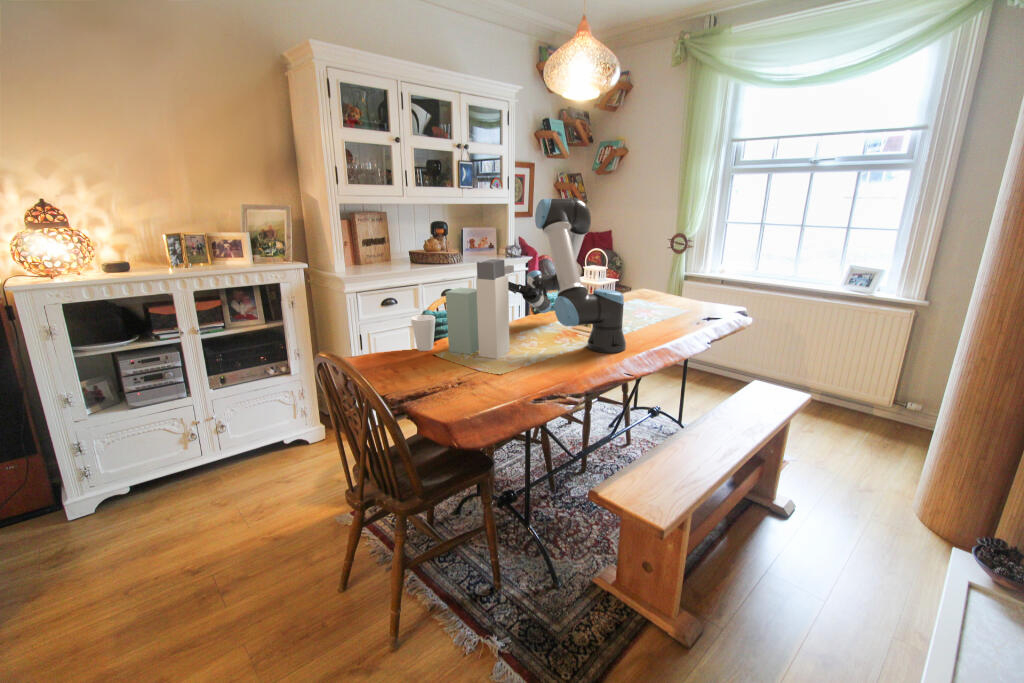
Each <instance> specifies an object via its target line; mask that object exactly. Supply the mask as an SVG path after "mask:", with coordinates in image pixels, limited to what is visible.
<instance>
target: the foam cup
mask: <svg viewBox="0 0 1024 683" xmlns="http://www.w3.org/2000/svg"><path fill="white" fill-rule="evenodd" d="M410 324H411V326H412V329H413V335H414V339H415V344H416V349H417V351H419V352H427V351H432V350H433V349H434V344H435V342H434V341H435V340H434V338H435V328H436V327H435V326H436V317H435V316H434V315H432V314H418V315H414V316H411V317H410Z"/></svg>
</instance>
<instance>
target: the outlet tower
mask: <svg viewBox="0 0 1024 683" xmlns="http://www.w3.org/2000/svg"><path fill="white" fill-rule="evenodd" d="M476 277H477V278H475V282H476V289H477V314H478V340H479V350H478V357H483V358H488V359H495V360H498V359H500V358H502V357H503V356H505V355H506V354H508V353H509V352H510V349H511V348H510V309H509V307H510V306H509V305H510V304H509V302H510V301H509V295H510V294H509V290H508V281H509V275H505V276H502V277H499V278H496V279H495V263H487V262H483V261H476Z"/></svg>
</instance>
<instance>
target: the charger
mask: <svg viewBox="0 0 1024 683" xmlns="http://www.w3.org/2000/svg"><path fill="white" fill-rule="evenodd" d="M482 262H487V263H495V279H496V278H499V277H502V276H506V275H508V274H512V273H514V272H515V268H514V267H515V266H514V265H511V264H510V265H509V264H508V265H505V259H500V258H499V259H496V258H494V259H493V258H492V259H487V260H483V261H482Z"/></svg>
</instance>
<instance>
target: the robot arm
mask: <svg viewBox="0 0 1024 683" xmlns="http://www.w3.org/2000/svg"><path fill="white" fill-rule="evenodd" d="M536 205H537V206H536V208H535V216H534V222H535V226H536V228H537V229H539V230H541V229H542V233H543V235H544V236H545V237H547V239H548V243H549V247H550V251H551V256H552V260H553V264H554V269H555V273H554V274H545V275H543V274H542V272H541V270H536V269H535V270H532V271H529V272H528V273H527V275H526V282H527V285H522V284H519V283H514V282H511V281H509V280H508V292H509V291H510V292H512V293H514V294H517V293H518V294H521V296H522V298H523V300H524V301H525V302H527V304H529V305H530V306H531V307H532V308H534V309H535V310H536V311H537V312H539V313H541V314H545V313H548V312H549V311H550V310H551V308H552V301H551V299H550V298H549V297H548V292H552V291H558V292H557V297H556V298H555V299H554V303H553V305H554V307H553V308H554V314H555V316H556V319H557V321H558V322H559V323H560V324H561V325H562V326H564V327H577V326H586V325H592V328H591V331H590V333H589V336H588V339H587V345H586V346H587V348H588V349H589V350H591V351H593V352H595V353H606V354H612V353H614V354H615V353H620V352H623V351H624V350H626V348H627V347H626V346H627V341H626V338H625V335H624V331H623V319H624V305H625V299H624V294H623V293H622V292H621V291H620V292H619V291H616V290H612V289H605V288H596V289H595V288H594V289H593V291H592V293H588V289H587V287H586V286H584V285H583V284H582V282H581V281H582V280H581V277H580V272H579V269H578V265H577V260H578V258H579V257H578V256H579V254H580V251H581V248H582V244H583V241H584V239H585V237H586V236H585V235H587V234H588V233H589V232H590V228H591V223H592V217H591V216H592V215H591V212H590V209H589V207H588V205H587V204H586V203H585V202H584V200H581V199H580V198H576V197H570V198H569V197H568V198H567V197H565V198H564V197H563V198H551V197H549V198H543V199H540V200H539V201H538V203H537V204H536Z"/></svg>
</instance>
